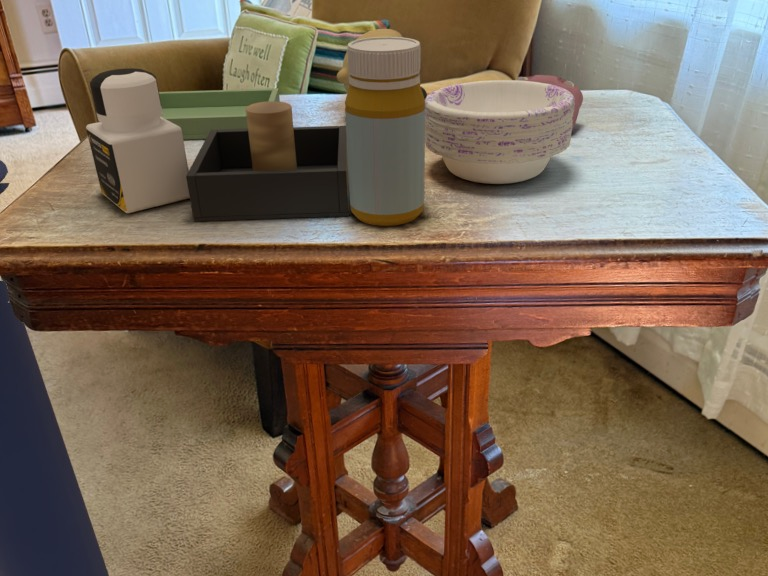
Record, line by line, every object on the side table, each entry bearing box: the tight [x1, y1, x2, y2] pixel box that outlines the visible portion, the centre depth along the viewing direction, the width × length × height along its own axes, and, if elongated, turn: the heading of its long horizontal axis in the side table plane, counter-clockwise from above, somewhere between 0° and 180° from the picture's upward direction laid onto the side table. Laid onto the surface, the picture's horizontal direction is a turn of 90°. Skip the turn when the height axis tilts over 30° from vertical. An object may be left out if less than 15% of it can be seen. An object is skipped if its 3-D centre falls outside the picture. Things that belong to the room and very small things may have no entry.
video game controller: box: [515, 74, 584, 130], centre depth 93 cm, size 10×5×7 cm, turn 63°
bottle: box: [344, 36, 426, 227], centre depth 68 cm, size 7×7×15 cm
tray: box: [159, 87, 281, 141], centre depth 98 cm, size 18×14×3 cm
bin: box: [186, 125, 349, 222], centre depth 76 cm, size 15×15×4 cm
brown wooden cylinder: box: [246, 101, 297, 171], centre depth 75 cm, size 4×4×8 cm
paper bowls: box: [425, 79, 575, 185], centre depth 79 cm, size 15×15×8 cm
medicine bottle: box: [85, 67, 190, 214], centre depth 74 cm, size 7×7×12 cm
